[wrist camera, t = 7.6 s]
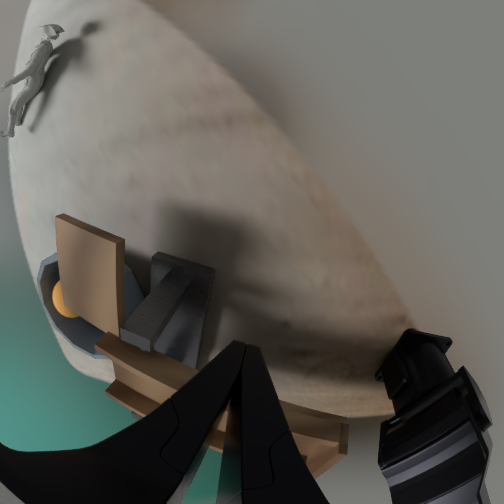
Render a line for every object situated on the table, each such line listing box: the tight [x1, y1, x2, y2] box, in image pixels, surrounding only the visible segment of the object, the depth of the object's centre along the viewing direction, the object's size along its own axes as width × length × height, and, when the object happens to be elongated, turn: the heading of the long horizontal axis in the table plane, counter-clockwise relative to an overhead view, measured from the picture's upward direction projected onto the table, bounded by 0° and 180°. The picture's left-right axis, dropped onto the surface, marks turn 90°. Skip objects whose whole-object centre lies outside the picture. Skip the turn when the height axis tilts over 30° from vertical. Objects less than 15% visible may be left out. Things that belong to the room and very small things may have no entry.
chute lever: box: [55, 214, 349, 479], centre depth 15 cm, size 22×14×3 cm, turn 76°
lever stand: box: [120, 252, 215, 420], centre depth 20 cm, size 5×13×8 cm, turn 166°
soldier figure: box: [0, 24, 64, 137], centre depth 15 cm, size 8×5×12 cm
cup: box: [37, 252, 144, 359], centre depth 22 cm, size 11×11×4 cm
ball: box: [53, 280, 79, 318], centre depth 22 cm, size 4×4×4 cm
